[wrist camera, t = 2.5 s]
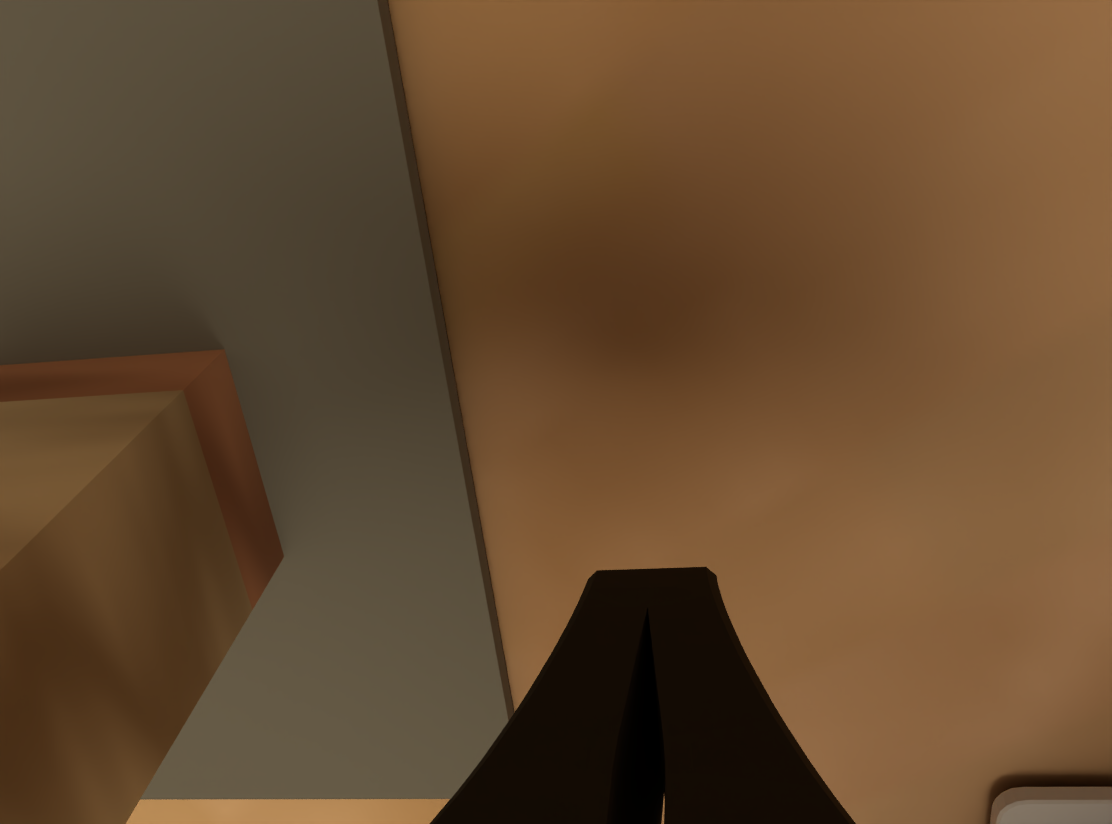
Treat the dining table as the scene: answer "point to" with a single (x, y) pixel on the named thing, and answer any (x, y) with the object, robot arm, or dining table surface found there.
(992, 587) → the dining table surface
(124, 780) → the maple block
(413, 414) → the rubber mat
